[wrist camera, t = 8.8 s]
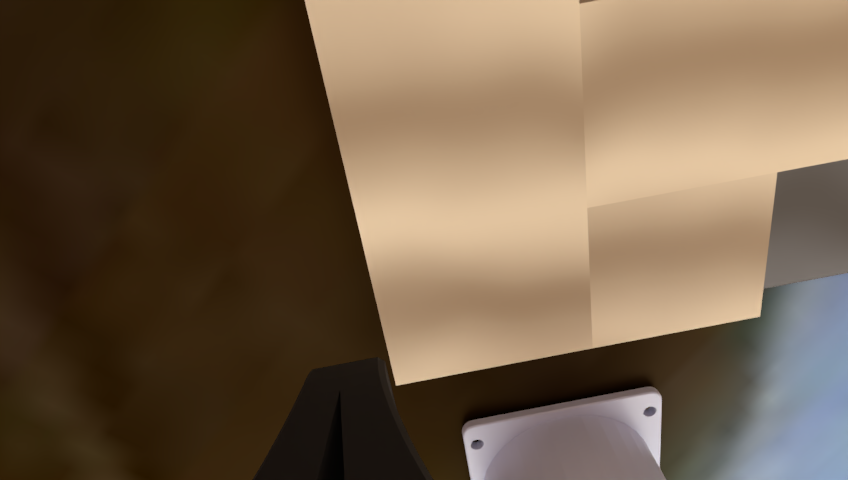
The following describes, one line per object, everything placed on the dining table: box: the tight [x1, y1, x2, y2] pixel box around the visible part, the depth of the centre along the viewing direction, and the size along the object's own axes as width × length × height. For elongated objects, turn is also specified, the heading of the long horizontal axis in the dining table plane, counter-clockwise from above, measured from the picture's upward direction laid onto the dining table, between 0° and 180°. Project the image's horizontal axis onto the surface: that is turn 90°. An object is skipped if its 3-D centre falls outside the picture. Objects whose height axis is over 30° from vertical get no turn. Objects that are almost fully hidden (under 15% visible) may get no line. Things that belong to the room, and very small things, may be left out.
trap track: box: [305, 0, 848, 386], centre depth 18 cm, size 17×26×2 cm, turn 99°
